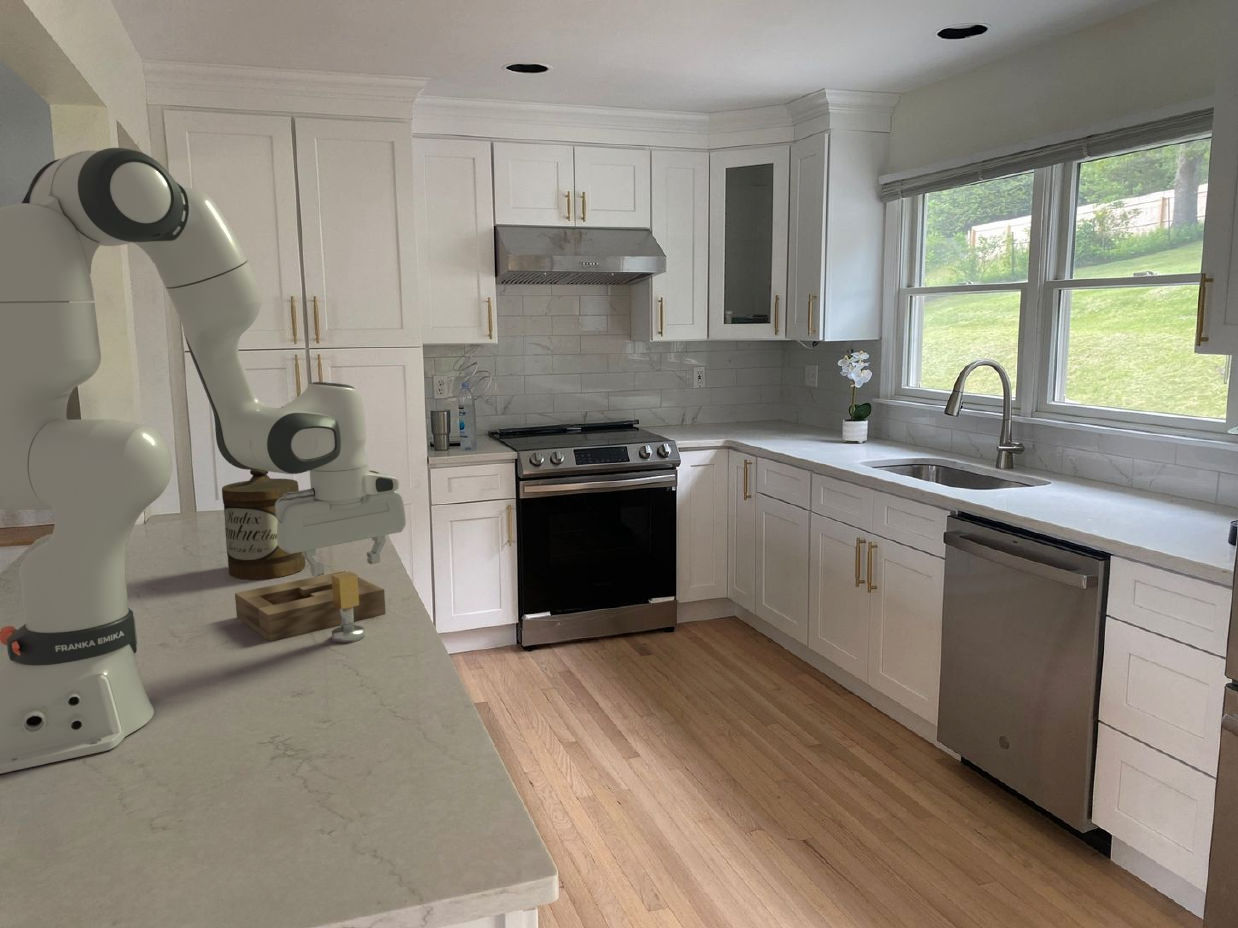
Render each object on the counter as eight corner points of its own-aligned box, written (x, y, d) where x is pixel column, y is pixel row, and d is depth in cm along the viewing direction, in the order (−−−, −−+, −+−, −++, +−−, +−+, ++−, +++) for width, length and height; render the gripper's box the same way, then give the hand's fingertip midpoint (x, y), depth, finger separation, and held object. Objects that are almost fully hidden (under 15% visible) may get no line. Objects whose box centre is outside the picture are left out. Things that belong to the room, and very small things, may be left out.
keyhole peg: (340, 645, 139) (335, 581, 137) (327, 637, 143) (322, 574, 141) (369, 637, 142) (366, 574, 141) (356, 630, 146) (352, 568, 144)
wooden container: (212, 578, 178) (203, 470, 174) (259, 559, 192) (251, 459, 188) (277, 582, 174) (269, 472, 171) (319, 562, 188) (312, 461, 185)
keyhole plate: (270, 641, 141) (268, 614, 140) (236, 617, 153) (234, 592, 152) (385, 613, 154) (384, 589, 153) (346, 593, 166) (345, 570, 165)
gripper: (281, 497, 130) (289, 587, 132) (407, 478, 143) (412, 560, 145) (266, 491, 134) (273, 578, 137) (389, 473, 147) (394, 552, 150)
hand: (346, 568), depth 141 cm, fingers open, 8 cm apart
